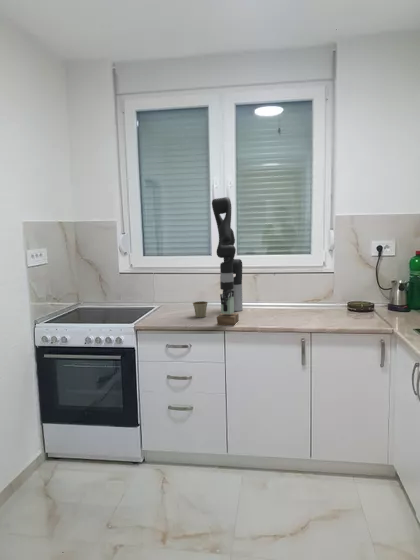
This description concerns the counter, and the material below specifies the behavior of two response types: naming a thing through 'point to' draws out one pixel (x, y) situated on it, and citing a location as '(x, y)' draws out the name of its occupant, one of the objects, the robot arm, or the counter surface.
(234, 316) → the walnut box
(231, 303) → the canister
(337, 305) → the counter surface
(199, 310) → the flower pot
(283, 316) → the counter surface
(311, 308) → the counter surface
